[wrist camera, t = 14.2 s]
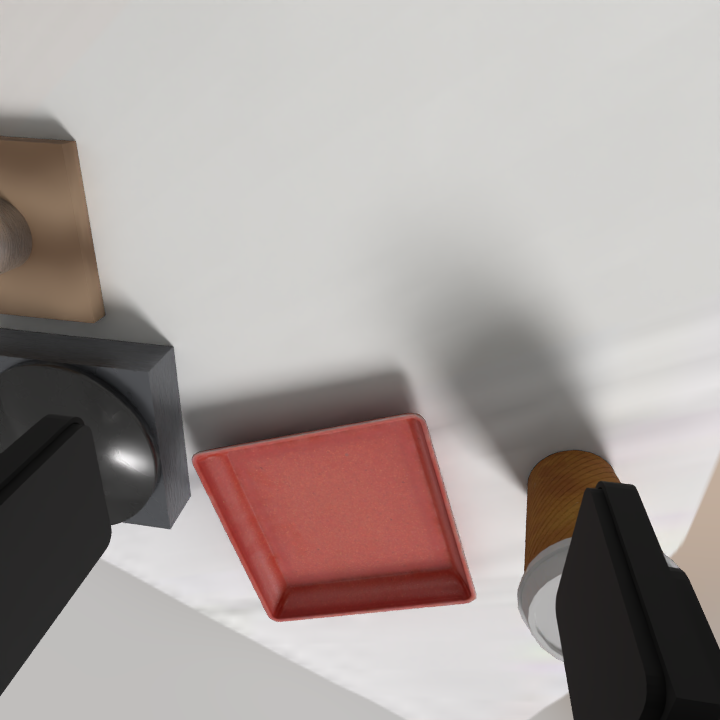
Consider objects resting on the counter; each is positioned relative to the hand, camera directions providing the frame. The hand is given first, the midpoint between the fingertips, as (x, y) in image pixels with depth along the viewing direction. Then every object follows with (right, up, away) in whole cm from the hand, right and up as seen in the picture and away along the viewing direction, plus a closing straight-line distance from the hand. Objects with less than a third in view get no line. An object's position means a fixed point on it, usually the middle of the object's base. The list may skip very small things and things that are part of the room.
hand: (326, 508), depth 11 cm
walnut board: (-24, +12, +30) cm, 40 cm away
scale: (-20, -2, +36) cm, 42 cm away
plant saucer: (-1, -9, +37) cm, 38 cm away
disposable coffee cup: (+16, -6, +33) cm, 37 cm away
